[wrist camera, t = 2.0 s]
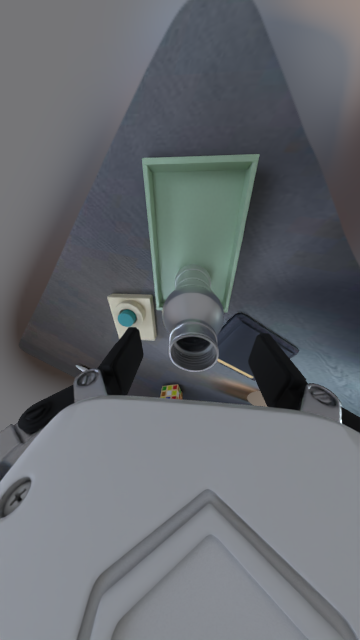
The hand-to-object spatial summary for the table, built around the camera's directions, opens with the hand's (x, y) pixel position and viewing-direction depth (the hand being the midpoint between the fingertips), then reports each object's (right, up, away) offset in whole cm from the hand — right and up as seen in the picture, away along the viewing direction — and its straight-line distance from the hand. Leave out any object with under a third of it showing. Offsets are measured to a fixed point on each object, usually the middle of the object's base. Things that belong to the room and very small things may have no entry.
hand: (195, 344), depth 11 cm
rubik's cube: (-4, -22, +36) cm, 43 cm away
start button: (-12, +3, +18) cm, 21 cm away
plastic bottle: (+1, +10, +16) cm, 19 cm away
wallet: (+16, -6, +25) cm, 30 cm away
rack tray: (+1, +14, +14) cm, 20 cm away
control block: (-12, +3, +22) cm, 25 cm away
